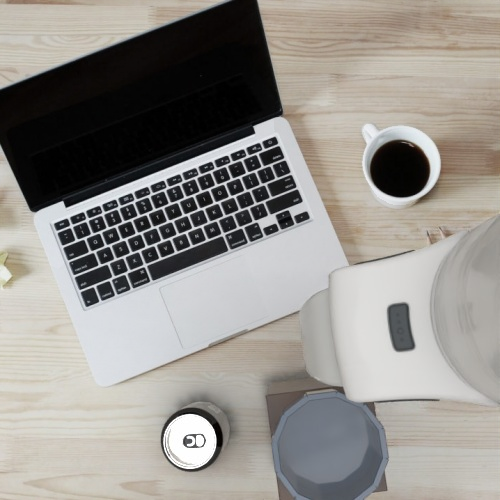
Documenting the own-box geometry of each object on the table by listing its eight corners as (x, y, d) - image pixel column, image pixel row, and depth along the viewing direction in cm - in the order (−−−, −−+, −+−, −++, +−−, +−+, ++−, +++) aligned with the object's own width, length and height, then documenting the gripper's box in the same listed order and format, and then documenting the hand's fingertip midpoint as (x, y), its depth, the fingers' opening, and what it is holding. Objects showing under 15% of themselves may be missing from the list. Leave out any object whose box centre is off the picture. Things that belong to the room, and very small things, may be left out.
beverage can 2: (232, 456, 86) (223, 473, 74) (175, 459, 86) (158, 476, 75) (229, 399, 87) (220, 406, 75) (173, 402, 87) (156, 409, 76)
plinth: (344, 372, 87) (371, 381, 60) (355, 448, 86) (387, 491, 59) (271, 382, 87) (265, 395, 61) (280, 457, 86) (279, 504, 59)
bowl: (370, 382, 60) (377, 385, 55) (386, 490, 59) (395, 502, 54) (266, 396, 61) (265, 400, 56) (281, 503, 59) (280, 516, 54)
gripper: (731, 215, 33) (600, 255, 47) (297, 273, 34) (292, 296, 48) (762, 350, 32) (620, 351, 46) (316, 408, 33) (306, 392, 47)
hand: (451, 323), depth 47 cm, fingers closed on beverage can, 5 cm apart
